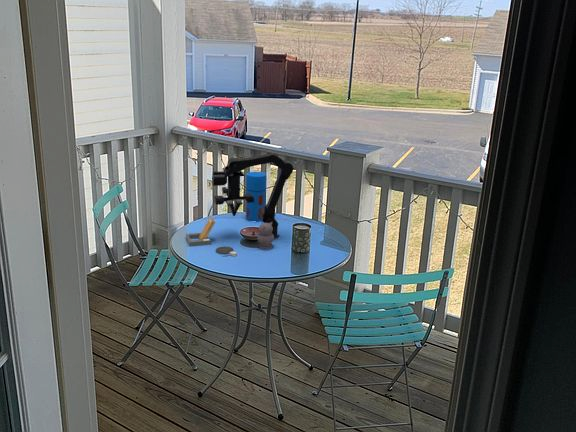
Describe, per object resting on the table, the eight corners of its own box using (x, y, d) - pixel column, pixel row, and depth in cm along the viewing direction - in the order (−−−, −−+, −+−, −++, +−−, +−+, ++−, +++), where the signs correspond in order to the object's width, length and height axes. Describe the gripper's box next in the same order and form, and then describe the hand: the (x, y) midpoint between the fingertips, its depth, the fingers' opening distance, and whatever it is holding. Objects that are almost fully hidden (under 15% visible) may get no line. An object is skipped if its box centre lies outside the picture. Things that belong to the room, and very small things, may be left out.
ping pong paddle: (241, 253, 256) (241, 250, 256) (229, 259, 250) (229, 256, 249) (223, 248, 262) (223, 245, 261) (212, 253, 256) (212, 250, 255)
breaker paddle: (201, 237, 270) (213, 218, 268) (204, 242, 264) (215, 222, 263) (198, 236, 269) (210, 216, 268) (200, 241, 264) (212, 220, 262)
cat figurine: (263, 242, 271) (264, 219, 267) (277, 245, 267) (277, 222, 263) (253, 247, 264) (254, 224, 260) (267, 251, 260) (268, 227, 256)
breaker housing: (206, 237, 273) (206, 231, 272) (211, 246, 263) (210, 240, 262) (185, 239, 270) (185, 233, 269) (189, 248, 260) (189, 242, 259)
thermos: (266, 216, 307) (267, 172, 298) (264, 222, 297) (265, 177, 288) (247, 214, 307) (247, 171, 299) (244, 221, 297) (244, 176, 289)
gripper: (248, 179, 274) (248, 209, 279) (211, 181, 268) (211, 211, 274) (254, 185, 264) (254, 216, 269) (215, 187, 259) (216, 219, 264)
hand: (233, 215), depth 269 cm, fingers closed
